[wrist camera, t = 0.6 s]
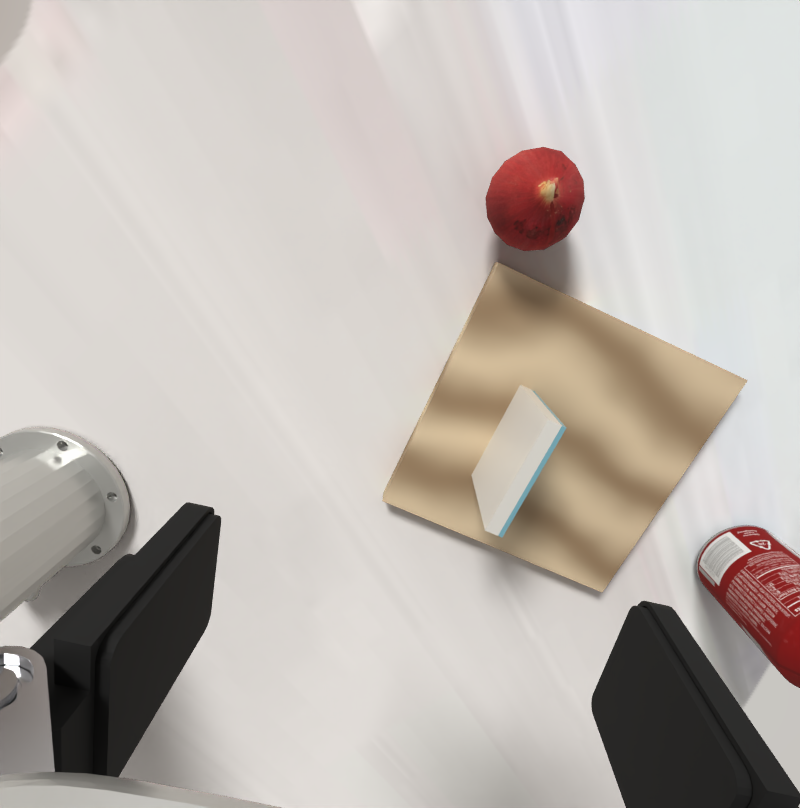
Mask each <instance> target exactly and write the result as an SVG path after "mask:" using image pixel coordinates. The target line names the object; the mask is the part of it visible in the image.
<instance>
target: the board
mask: <svg viewBox="0 0 800 808" xmlns="http://www.w3.org/2000/svg"><path fill="white" fill-rule="evenodd" d="M747 381H748V380H746V379H743V378H741V377H739V376H737V375H735V374H733V373H731V372H729V371H727V370H724V369H722V368H720V367H718V366H716V365H714V364H712V363H710V362H708V361H705V360H703V359H701V358H699V357H697V356H695V355H693V354H691V353H689V352H686V351H684V350H682V349H680V348H678V347H676V346H674V345H672V344H669V343H667V342H665V341H663V340H661V339H659V338H657V337H655V336H653V335H650V334H648V333H646V332H644V331H642V330H640V329H638V328H636V327H634V326H631V325H629V324H627V323H625V322H623V321H621V320H619V319H617V318H615V317H612V316H610V315H608V314H606V313H604V312H602V311H600V310H598V309H596V308H593V307H591V306H589V305H587V304H585V303H583V302H581V301H579V300H577V299H574V298H572V297H570V296H568V295H566V294H564V293H562V292H560V291H558V290H555V289H553V288H551V287H549V286H547V285H545V284H543V283H541V282H539V281H536V280H534V279H532V278H530V277H528V276H526V275H524V274H522V273H520V272H517V271H515V270H513V269H511V268H509V267H507V266H505V265H503V264H501V263H498V262H495V264H494V266H493V268H492V270H491V272H490V274H489V276H488V278H487V280H486V282H485V284H484V286H483V288H482V290H481V293H480V295H479V297H478V299H477V301H476V303H475V305H474V307H473V309H472V311H471V313H470V315H469V317H468V319H467V321H466V323H465V326H464V328H463V330H462V332H461V334H460V336H459V338H458V340H457V342H456V344H455V346H454V348H453V350H452V352H451V354H450V357H449V359H448V361H447V363H446V365H445V367H444V369H443V371H442V373H441V375H440V377H439V379H438V381H437V383H436V385H435V387H434V390H433V392H432V394H431V396H430V398H429V400H428V402H427V404H426V406H425V408H424V410H423V412H422V414H421V416H420V418H419V420H418V423H417V425H416V427H415V429H414V431H413V433H412V435H411V437H410V439H409V441H408V443H407V445H406V447H405V449H404V451H403V454H402V456H401V458H400V460H399V462H398V464H397V466H396V468H395V470H394V472H393V474H392V476H391V478H390V480H389V482H388V484H387V487H386V489H385V491H384V494H383V500H382V501H384V502H386V503H388V504H391V505H393V506H396V507H398V508H400V509H403V510H405V511H408V512H410V513H412V514H415V515H417V516H420V517H422V518H424V519H427V520H429V521H432V522H434V523H436V524H439V525H441V526H444V527H446V528H448V529H451V530H453V531H456V532H458V533H460V534H463V535H465V536H468V537H470V538H472V539H475V540H477V541H480V542H482V543H484V544H487V545H489V546H492V547H494V548H496V549H499V550H501V551H504V552H506V553H508V554H511V555H513V556H516V557H518V558H520V559H523V560H525V561H528V562H530V563H532V564H535V565H537V566H540V567H542V568H544V569H547V570H549V571H552V572H554V573H557V574H559V575H561V576H564V577H566V578H569V579H571V580H573V581H576V582H578V583H581V584H583V585H585V586H588V587H590V588H593V589H595V590H597V591H600V592H603V591H604V589H605V588H606V586H607V585H608V583H609V582H610V581H611V579H612V578H613V576H614V575H615V573H616V572H617V570H618V569H619V567H620V566H621V565H622V563H623V562H624V560H625V559H626V557H627V556H628V554H629V553H630V551H631V550H632V548H633V547H634V546H635V544H636V543H637V541H638V540H639V538H640V537H641V535H642V534H643V532H644V531H645V529H646V528H647V527H648V525H649V524H650V522H651V521H652V519H653V518H654V516H655V515H656V513H657V512H658V511H659V509H660V508H661V506H662V505H663V503H664V502H665V500H666V499H667V497H668V496H669V494H670V493H671V492H672V490H673V489H674V487H675V486H676V484H677V483H678V481H679V480H680V478H681V477H682V475H683V474H684V473H685V471H686V470H687V468H688V467H689V465H690V464H691V462H692V461H693V459H694V458H695V457H696V455H697V454H698V452H699V451H700V449H701V448H702V446H703V445H704V443H705V442H706V440H707V439H708V438H709V436H710V435H711V433H712V432H713V430H714V429H715V427H716V426H717V424H718V423H719V421H720V420H721V419H722V417H723V416H724V414H725V413H726V411H727V410H728V408H729V407H730V405H731V404H732V403H733V401H734V400H735V398H736V397H737V395H738V394H739V392H740V391H741V389H742V388H743V386H744V385H745V384H746V382H747ZM520 385H522V386H524V387H527V388H529V389H531V390H533V391H535V392H536V393H537V394H538V395H539V397H540V398H541V399H542V400H543V401H544V402H545V403H546V405H547V406H548V407H549V408H550V409H551V410H552V412H553V413H554V414H555V415H556V416H557V417H558V418H559V420H560V421H561V422H562V423H563V424H564V425H565V427H566V430H565V431H564V433H563V435H562V437H561V438H560V440H559V442H558V443H557V445H556V447H555V448H554V450H553V452H552V454H551V455H550V457H549V459H548V460H547V462H546V464H545V466H544V467H543V469H542V471H541V472H540V474H539V476H538V477H537V479H536V481H535V483H534V484H533V486H532V488H531V489H530V491H529V493H528V495H527V496H526V498H525V500H524V501H523V503H522V505H521V506H520V508H519V510H518V512H517V513H516V515H515V517H514V518H513V520H512V522H511V524H510V525H509V527H508V529H507V530H506V532H505V534H504V536H503V537H499V536H497V535H495V534H492V533H490V532H487V531H485V529H484V525H483V521H482V516H481V512H480V508H479V504H478V500H477V496H476V492H475V488H474V484H473V480H472V476H471V475H472V473H473V471H474V469H475V468H476V466H477V464H478V462H479V460H480V458H481V456H482V455H483V453H484V451H485V449H486V447H487V445H488V443H489V442H490V440H491V438H492V436H493V434H494V432H495V431H496V429H497V427H498V425H499V423H500V421H501V419H502V418H503V416H504V414H505V412H506V410H507V408H508V406H509V405H510V403H511V401H512V399H513V397H514V395H515V393H516V392H517V390H518V388H519V386H520Z"/></svg>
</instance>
